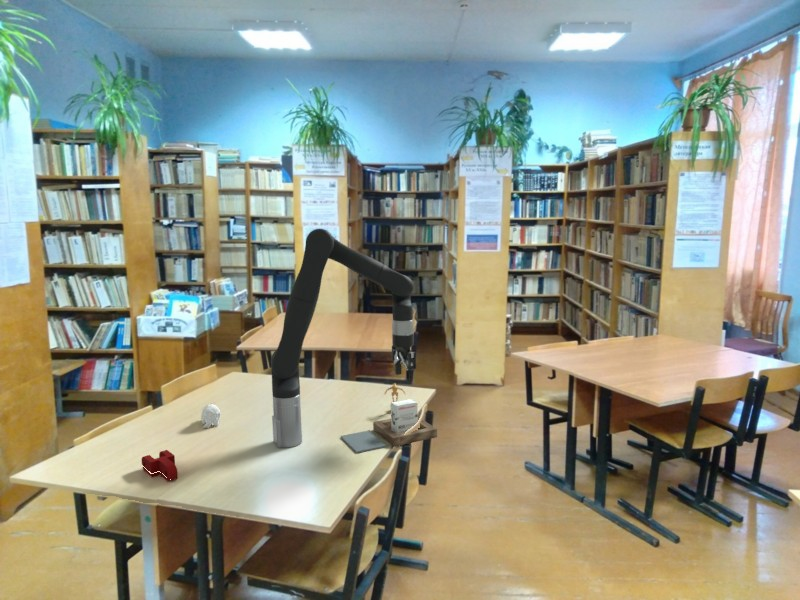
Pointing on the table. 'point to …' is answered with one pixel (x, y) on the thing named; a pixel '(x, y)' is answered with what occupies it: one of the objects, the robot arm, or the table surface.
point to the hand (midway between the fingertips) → (403, 377)
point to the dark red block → (161, 465)
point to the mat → (363, 441)
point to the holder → (395, 439)
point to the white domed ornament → (210, 415)
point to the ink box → (403, 415)
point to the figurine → (394, 391)
